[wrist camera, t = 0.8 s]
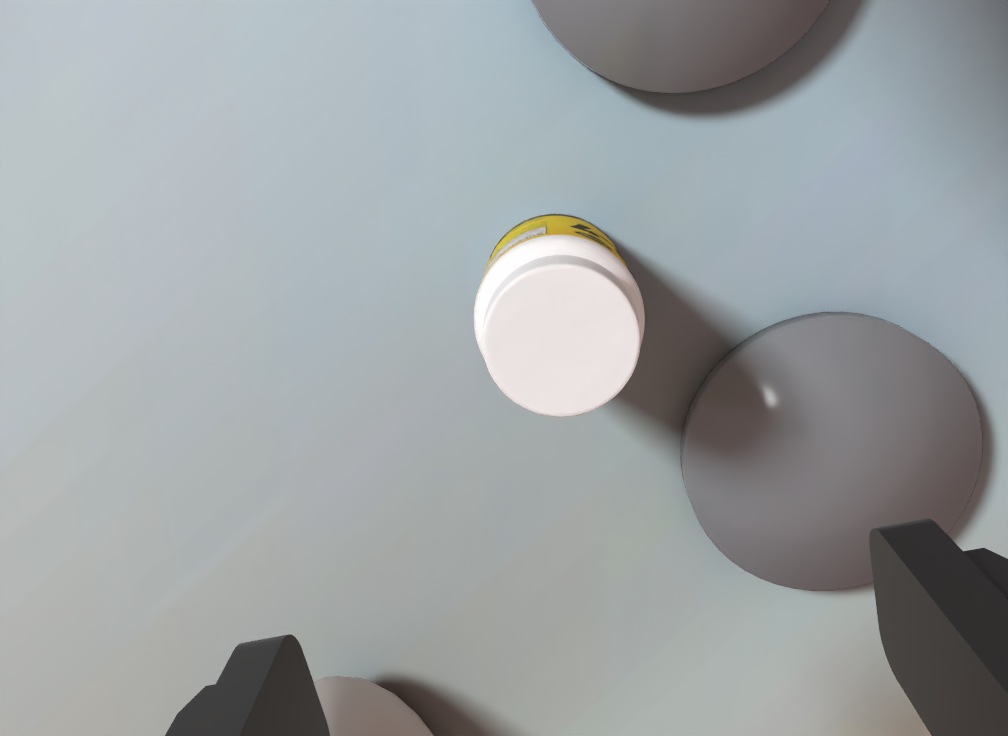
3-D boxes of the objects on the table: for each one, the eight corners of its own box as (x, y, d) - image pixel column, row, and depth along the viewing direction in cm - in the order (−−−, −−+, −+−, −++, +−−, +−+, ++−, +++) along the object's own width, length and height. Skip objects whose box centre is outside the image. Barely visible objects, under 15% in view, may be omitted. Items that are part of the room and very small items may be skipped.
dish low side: (657, 346, 30) (662, 355, 29) (953, 283, 29) (970, 290, 28) (705, 595, 33) (711, 613, 32) (976, 546, 32) (993, 562, 31)
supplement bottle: (651, 298, 30) (694, 369, 22) (537, 374, 31) (538, 468, 23) (572, 181, 29) (587, 210, 21) (457, 263, 30) (428, 320, 22)
